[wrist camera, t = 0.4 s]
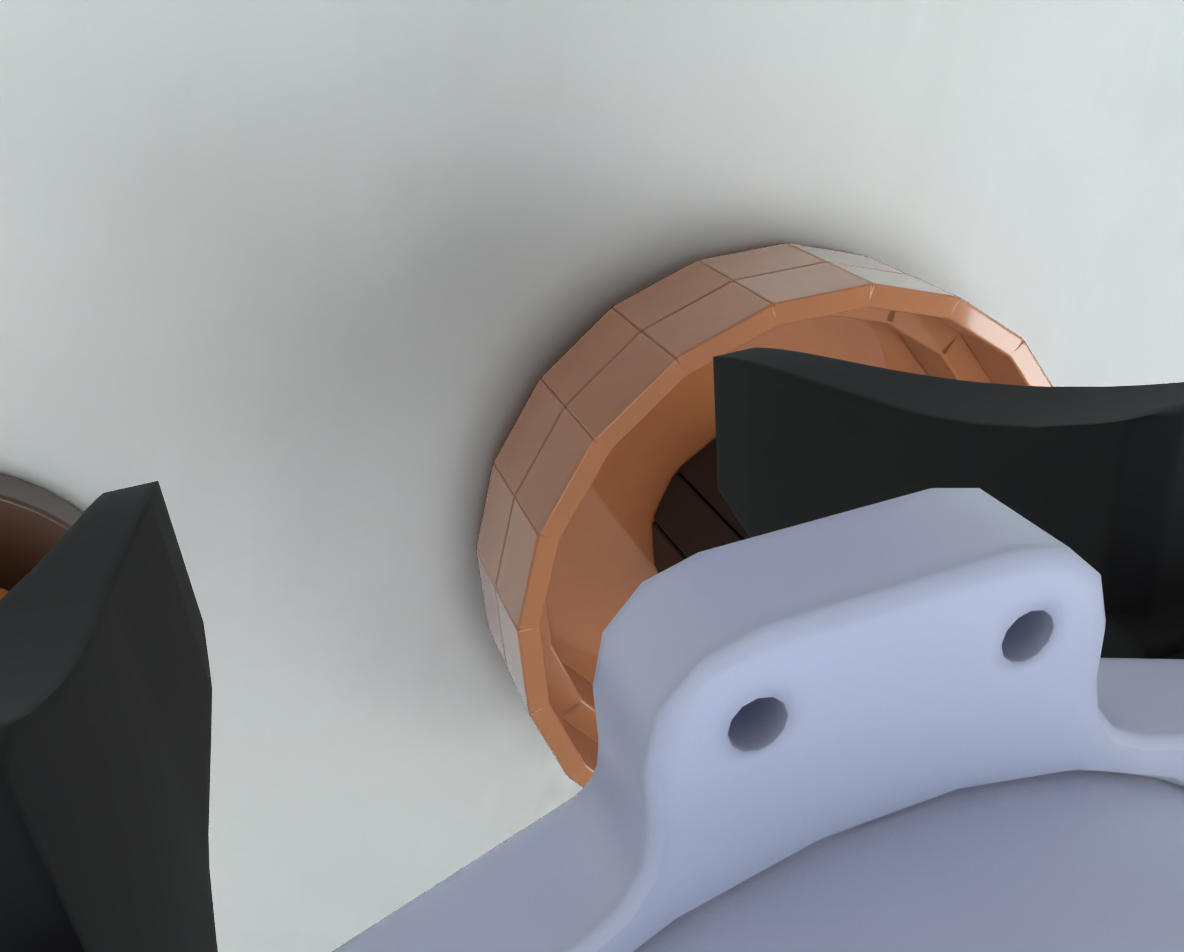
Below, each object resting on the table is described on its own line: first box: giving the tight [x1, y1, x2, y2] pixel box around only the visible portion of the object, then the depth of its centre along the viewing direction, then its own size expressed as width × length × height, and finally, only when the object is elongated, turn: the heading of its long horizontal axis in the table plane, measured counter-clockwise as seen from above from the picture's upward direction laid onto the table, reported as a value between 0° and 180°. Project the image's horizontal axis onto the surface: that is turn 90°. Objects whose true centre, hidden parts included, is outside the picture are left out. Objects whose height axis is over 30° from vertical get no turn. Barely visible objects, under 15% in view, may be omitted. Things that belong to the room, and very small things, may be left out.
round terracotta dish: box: [477, 243, 1053, 787], centre depth 26 cm, size 14×14×4 cm
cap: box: [652, 438, 750, 573], centre depth 25 cm, size 5×5×5 cm
